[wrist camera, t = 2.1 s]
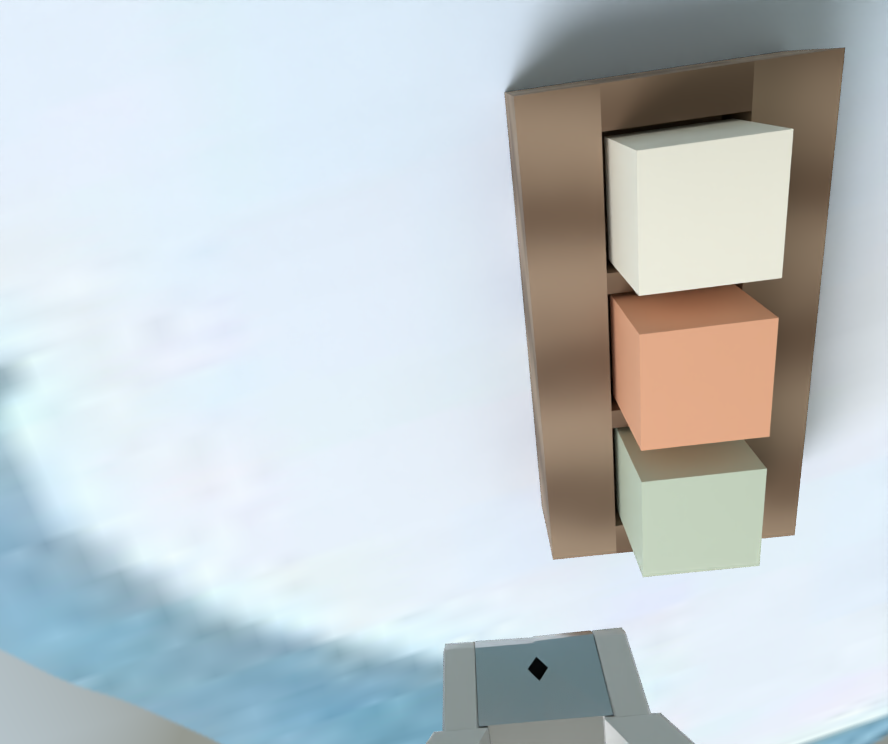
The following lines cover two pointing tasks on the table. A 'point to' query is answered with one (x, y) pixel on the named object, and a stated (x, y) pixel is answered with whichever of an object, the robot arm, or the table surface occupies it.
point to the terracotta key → (693, 365)
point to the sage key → (690, 504)
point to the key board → (594, 278)
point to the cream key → (698, 204)
